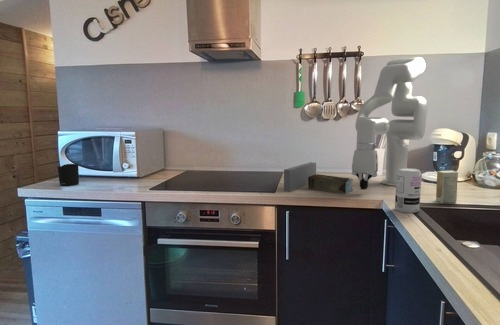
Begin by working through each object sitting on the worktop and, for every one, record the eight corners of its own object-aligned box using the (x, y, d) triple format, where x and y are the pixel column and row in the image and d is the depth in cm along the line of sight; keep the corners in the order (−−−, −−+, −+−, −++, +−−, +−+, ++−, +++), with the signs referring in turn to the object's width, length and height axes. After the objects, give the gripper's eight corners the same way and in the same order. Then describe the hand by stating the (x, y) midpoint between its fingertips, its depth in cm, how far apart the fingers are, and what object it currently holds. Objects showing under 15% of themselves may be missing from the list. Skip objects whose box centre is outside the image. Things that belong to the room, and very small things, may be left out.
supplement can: (398, 206, 137) (400, 167, 135) (422, 209, 132) (424, 169, 130) (391, 210, 131) (393, 170, 129) (415, 214, 126) (418, 172, 124)
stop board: (315, 182, 185) (316, 162, 183) (289, 192, 162) (289, 170, 161) (310, 181, 187) (310, 162, 185) (283, 191, 164) (283, 169, 162)
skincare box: (450, 200, 146) (452, 170, 144) (456, 202, 142) (459, 172, 140) (434, 200, 146) (436, 170, 144) (440, 203, 141) (442, 172, 140)
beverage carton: (345, 194, 157) (346, 179, 157) (307, 189, 169) (307, 175, 168) (353, 191, 164) (353, 177, 163) (315, 186, 175) (315, 173, 174)
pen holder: (57, 184, 184) (55, 165, 182) (77, 182, 190) (75, 163, 188) (61, 187, 177) (59, 167, 175) (81, 184, 182) (80, 165, 181)
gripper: (385, 147, 153) (383, 189, 155) (351, 145, 161) (349, 185, 164) (381, 148, 147) (378, 192, 149) (345, 146, 155) (343, 188, 158)
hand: (363, 189), depth 157 cm, fingers closed
